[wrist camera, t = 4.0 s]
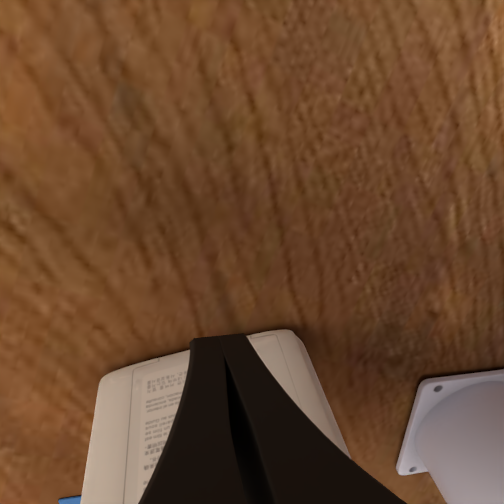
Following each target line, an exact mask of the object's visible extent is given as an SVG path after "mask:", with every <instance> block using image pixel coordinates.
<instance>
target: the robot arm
mask: <svg viewBox="0 0 504 504" xmlns="http://www.w3.org/2000/svg"><path fill="white" fill-rule="evenodd" d="M396 470H397V472H398V473H399V474H400V475H409V474H415V473H421V472H429V473H430V475H431V477H432V479H433V480H434V482H435V484H436V485H437V487H438V489H439V491H440V492H441V494H442V496H443V497H444V499H445V501H446V503H447V504H504V369H502V370H494V371H486V372H478V373H470V374H461V375H453V376H445V377H437V378H429V379H425V380H423V381H422V382H421V383H420V385H419V387H418V391H417V394H416V398H415V401H414V405H413V408H412V412H411V415H410V419H409V423H408V426H407V430H406V433H405V437H404V440H403V444H402V447H401V451H400V455H399V458H398V462H397V465H396ZM138 504H407V503H406V502H404V501H403V500H401V499H400V498H399V497H397V496H396V495H395V494H394V493H392V492H391V491H390V490H389V489H387V488H386V487H385V486H383V485H382V484H381V483H380V482H378V481H377V480H376V479H375V478H373V477H372V476H371V475H369V474H368V473H367V472H366V471H364V470H363V469H362V468H361V467H360V466H358V465H357V464H356V463H355V462H354V461H353V460H352V459H350V458H349V457H348V456H347V455H346V454H345V453H344V452H343V451H341V450H340V449H339V448H338V447H337V446H336V445H335V444H334V443H333V442H332V441H331V440H330V439H329V438H328V437H327V436H326V435H325V434H324V433H323V432H322V431H321V430H320V429H319V428H318V427H317V426H316V425H315V424H314V423H313V422H312V421H311V420H310V419H309V418H308V417H307V416H306V414H305V413H304V412H303V411H302V410H301V409H300V408H299V407H298V406H297V404H296V403H295V402H294V401H293V400H292V399H291V397H290V396H289V395H288V394H287V393H286V391H285V390H284V389H283V388H282V386H281V385H280V384H279V383H278V381H277V380H276V379H275V378H274V376H273V375H272V374H271V372H270V371H269V370H268V368H267V367H266V365H265V364H264V363H263V361H262V360H261V358H260V357H259V355H258V354H257V352H256V351H255V349H254V348H253V346H252V344H251V343H250V341H249V339H248V338H247V336H245V335H244V334H233V335H223V336H212V337H202V338H194V339H193V340H192V341H191V342H190V357H189V365H188V370H187V375H186V380H185V384H184V388H183V392H182V395H181V399H180V403H179V406H178V409H177V412H176V415H175V418H174V421H173V424H172V427H171V430H170V433H169V435H168V438H167V441H166V443H165V446H164V448H163V451H162V453H161V456H160V458H159V460H158V463H157V465H156V467H155V469H154V472H153V474H152V476H151V478H150V480H149V482H148V484H147V487H146V489H145V491H144V493H143V495H142V497H141V499H140V501H139V503H138Z"/></svg>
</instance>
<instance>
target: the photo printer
mask: <svg viewBox="0 0 504 504" xmlns="http://www.w3.org/2000/svg"><path fill="white" fill-rule="evenodd" d="M247 338H248V339H249V341H250V343H251V344H252V346H253V348H254V349H255V351H256V352H257V354H258V355H259V357H260V358H261V360H262V361H263V363H264V364H265V365H266V367H267V368H268V370H269V371H270V372H271V374H272V375H273V376H274V378H275V379H276V380H277V381H278V383H279V384H280V385H281V386H282V388H283V389H284V390H285V391H286V393H287V394H288V395H289V396H290V397H291V399H292V400H293V401H294V402H295V403H296V404H297V406H298V407H299V408H300V409H301V410H302V411H303V412H304V413H305V414H306V416H307V417H308V418H309V419H310V420H311V421H312V422H313V423H314V424H315V425H316V426H317V427H318V428H319V429H320V430H321V431H322V432H323V433H324V434H325V435H326V436H327V437H328V438H329V439H330V440H331V441H332V442H333V443H334V444H335V445H336V446H337V447H338V448H339V449H340V450H341V451H343V452H344V453H345V454H346V455H347V456H348V457H349V458H350V459H351V457H350V454H349V452H348V450H347V447H346V445H345V442H344V440H343V438H342V435H341V433H340V430H339V428H338V425H337V423H336V420H335V418H334V416H333V413H332V411H331V408H330V406H329V403H328V401H327V399H326V396H325V394H324V391H323V389H322V386H321V384H320V382H319V379H318V377H317V374H316V372H315V370H314V367H313V365H312V362H311V360H310V358H309V355H308V353H307V351H306V348H305V346H304V344H303V342H302V341H301V340H300V339H299V338H298V337H297V336H296V335H295V334H294V333H293V331H291V330H287V329H282V330H273V331H266V332H261V333H256V334H252V335H248V336H247ZM189 357H190V350H187V351H183V352H179V353H175V354H171V355H167V356H164V357H160V358H155V359H151V360H148V361H145V362H141V363H137V364H134V365H130V366H127V367H124V368H121V369H118V370H116V371H113V372H111V373H109V374H107V375H105V376H104V377H103V378H102V379H101V381H100V383H99V388H98V394H97V400H96V407H95V414H94V420H93V427H92V433H91V439H90V445H89V452H88V458H87V464H86V471H85V477H84V483H83V490H82V496H81V502H80V504H138V503H139V501H140V499H141V497H142V495H143V493H144V491H145V489H146V487H147V484H148V482H149V480H150V478H151V476H152V474H153V472H154V469H155V467H156V465H157V463H158V460H159V458H160V456H161V453H162V451H163V448H164V446H165V443H166V441H167V438H168V435H169V433H170V430H171V427H172V424H173V421H174V418H175V415H176V412H177V409H178V406H179V403H180V399H181V395H182V392H183V388H184V384H185V380H186V375H187V370H188V365H189Z"/></svg>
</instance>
